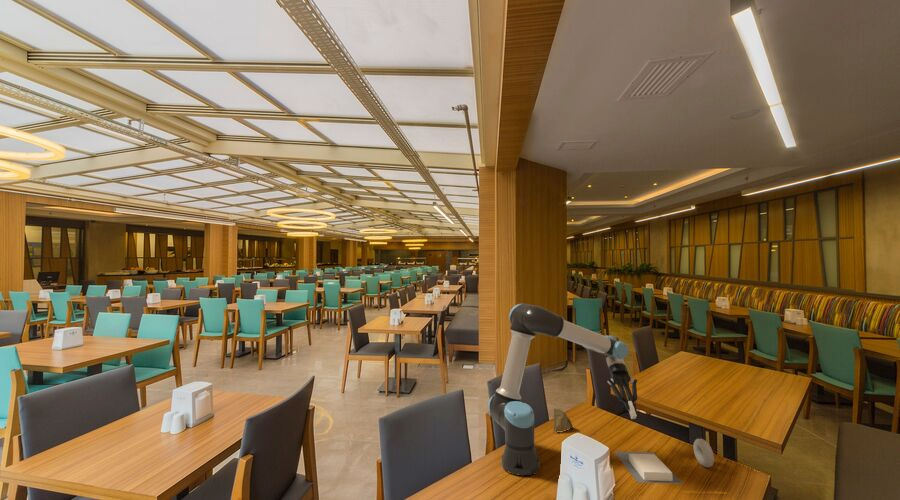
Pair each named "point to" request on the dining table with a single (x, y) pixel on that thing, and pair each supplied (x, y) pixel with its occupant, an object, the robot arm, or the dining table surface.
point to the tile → (650, 467)
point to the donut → (703, 453)
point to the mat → (625, 460)
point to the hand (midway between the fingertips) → (634, 417)
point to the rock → (561, 421)
